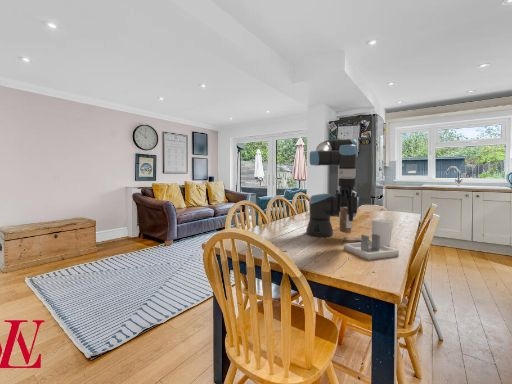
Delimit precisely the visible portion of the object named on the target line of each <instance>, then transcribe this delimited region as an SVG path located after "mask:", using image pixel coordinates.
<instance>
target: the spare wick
mask: <svg viewBox="0 0 512 384" xmlns="http://www.w3.org/2000/svg"><path fill="white" fill-rule="evenodd" d="M369 241H371V240H370V239H369ZM358 242H361V237H347V236H343V245H344V244H348V243H358Z"/></svg>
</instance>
